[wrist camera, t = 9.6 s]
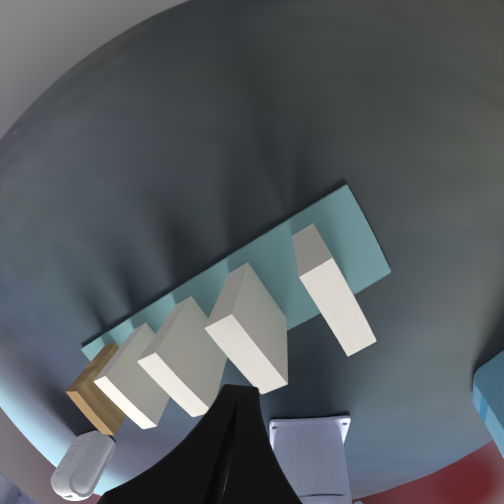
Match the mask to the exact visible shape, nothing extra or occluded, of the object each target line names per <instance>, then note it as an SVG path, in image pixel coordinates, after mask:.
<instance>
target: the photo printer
mask: <svg viewBox="0 0 504 504" xmlns="http://www.w3.org/2000/svg"><path fill="white" fill-rule="evenodd" d="M115 448H116V444H115V442H114V441H113V439H111V438H110V437H109V436H108V435H105V434H102V433H101V432H99V431H91V432H88V433H85V434H82V435H79V436H77V437H76V438H75V440H74V441H73V443H72V444H71V446H70V448H69V449H68V451H67V452H66V454H65V456H64V457H63V459H62V460H61V462H60V463H59V465H58V467H57V468H56V470H55V472H54V473H53V475H52V477H51V485H52V487H53V489H54V491H55V492H56V493H57V494H59V495H61V496H62V497H63V498H64V499H67V500H72V501H78V500H83V499H86V498H87V497H89V496H90V495H91V494H92V493H93V491H94V489H95V487H96V485H97V483H98V481H99V479H100V478H101V476H102V474H103V472H104V470H105V468H106V466H107V464H108V462H109V460H110V458H111V456H112V454H113V452H114V450H115Z"/></svg>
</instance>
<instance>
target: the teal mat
mask: <svg viewBox="0 0 504 504" xmlns="http://www.w3.org/2000/svg"><path fill="white" fill-rule="evenodd" d="M311 224H314V226H315V227H316V229H317V231H318V232H319V234H320V236H321V238H322V239H323V241H324V243H325V244H326V246H327V248H328V250H329V251H330V253H331V255H332V257H333V258H334V260H335V262H336V264H337V265H338V267H339V269H340V271H341V273H342V274H343V276H344V278H345V280H346V282H347V284H348V285H349V287H350V289H351V291H352V293H353V295H354V294H356V293H358V292H359V291H361V290H363V289H364V288H366V287H368V286H370V285H371V284H373V283H375V282H376V281H378V280H379V279H381V278H383V277H384V276H386V275H388V274H389V273H391V270H390V268H389V266H388V264H387V261H386V259H385V257H384V255H383V253H382V251H381V249H380V246H379V244H378V242H377V240H376V238H375V236H374V234H373V232H372V230H371V228H370V226H369V224H368V222H367V220H366V218H365V216H364V215H363V213H362V211H361V209H360V207H359V205H358V203H357V201H356V200H355V198H354V196H353V194H352V192H351V191H350V189H349V187H348V185H347V184H345V185H343V186H342V187H340V188H338V189H337V190H335V191H334V192H332V193H330V194H329V195H327V196H325V197H324V198H322V199H320V200H319V201H317V202H315V203H314V204H312V205H310V206H309V207H307V208H305V209H304V210H302V211H301V212H299V213H297V214H296V215H294V216H292V217H291V218H289V219H287V220H286V221H284V222H282V223H281V224H279V225H278V226H276V227H274V228H273V229H271V230H269V231H268V232H266V233H264V234H263V235H261V236H260V237H258V238H256V239H255V240H253V241H251V242H250V243H248V244H247V245H245V246H243V247H242V248H240V249H238V250H237V251H235V252H234V253H232V254H230V255H229V256H227V257H226V258H224V259H222V260H221V261H219V262H217V263H216V264H214V265H213V266H211V267H209V268H208V269H206V270H205V271H203V272H201V273H200V274H198V275H197V276H195V277H193V278H192V279H190V280H188V281H187V282H185V283H184V284H182V285H180V286H179V287H177V288H176V289H174V290H172V291H171V292H169V293H168V294H166V295H164V296H163V297H161V298H160V299H158V300H157V301H155V302H153V303H152V304H150V305H149V306H147V307H145V308H144V309H142V310H141V311H139V312H137V313H136V314H134V315H133V316H131V317H130V318H128V319H126V320H125V321H123V322H122V323H120V324H119V325H117V326H115V327H114V328H112V329H111V330H109V331H107V332H106V333H104V334H103V335H101V336H100V337H98V338H97V339H95V340H93V341H92V342H90V343H89V344H87V345H86V346H84V347H83V348H82V349H81V350H82V351H83V353H84V354H85V355H86V356H87V357H88V359H89V360H90V361H92V360H93V359H94V357H95V356H96V355H97V354H98V353H99V352H100V350H101V349H102V348H103V347H104V346H105V345H109V344H113V343H117V345H118V346H119V348H120V346H121V345H122V344H123V343H124V341H125V340H126V339H127V338H128V336H129V335H130V334H131V333H132V331H133V330H134V329H136V328H138V327H139V326H141V325H143V324H144V323H147V324H148V326H149V327H150V328H151V329H152V330H153V332H154V333H155V334H156V333H157V331H158V330H159V328H160V327H161V325H162V324H163V322H164V321H165V319H166V318H167V317H168V315H169V314H170V312H171V311H172V309H173V308H174V307H175V305H177V304H178V303H180V302H182V301H183V300H185V299H187V298H189V297H190V296H192V298H193V299H194V300H195V302H196V303H197V304H198V306H199V307H200V308H201V309H202V311H203V312H204V313H205V315H206V316H207V317H208V318H209V317H210V314H211V312H212V310H213V308H214V305H215V303H216V301H217V299H218V296H219V294H220V292H221V290H222V287H223V285H224V283H225V281H226V279H227V276H228V274H229V273H231V272H232V271H234V270H236V269H237V268H239V267H241V266H242V265H244V264H246V263H247V262H248V263H249V264H250V266H251V267H252V269H253V270H254V271H255V273H256V274H257V276H258V277H259V279H260V280H261V282H262V283H263V285H264V286H265V287H266V289H267V290H268V292H269V293H270V295H271V296H272V298H273V299H274V301H275V302H276V303H277V305H278V306H279V308H280V309H281V311H282V312H283V314H284V315H285V316H286V319H287V331H288V330H290V329H292V328H294V327H295V326H297V325H299V324H301V323H303V322H305V321H307V320H309V319H311V318H313V317H315V316H317V315H318V314H320V313H321V312H320V310H319V308H318V307H317V305H316V304H315V302H314V300H313V299H312V297H311V296H310V294H309V292H308V291H307V289H306V288H305V286H304V284H303V283H302V281H301V280H300V278H299V274H298V268H297V262H296V257H295V251H294V245H293V240H292V236H293V235H294V234H296V233H298V232H299V231H301V230H303V229H304V228H306V227H308V226H309V225H311ZM228 358H229V357H228V356H227V359H228Z"/></svg>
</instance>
